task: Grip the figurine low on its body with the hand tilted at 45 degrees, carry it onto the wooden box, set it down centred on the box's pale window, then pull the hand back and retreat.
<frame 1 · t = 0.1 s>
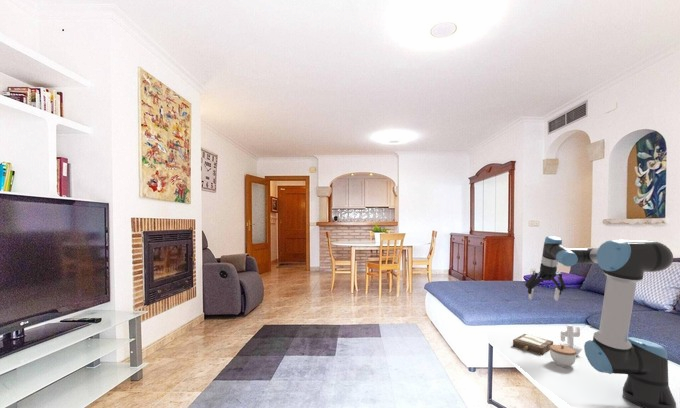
hand: (542, 299, 176), 28 cm above the table, tool tilted 20°, fingers open, 13 cm apart
lidded jar: (563, 365, 157), on the table
wooden box: (533, 347, 180), on the table
figurine: (570, 353, 172), on the table
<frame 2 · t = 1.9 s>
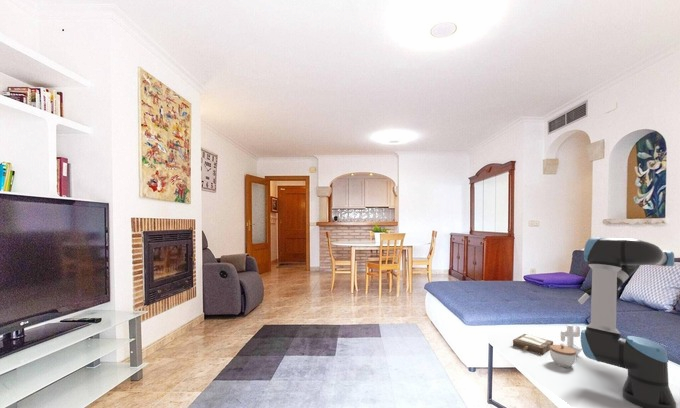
hand: (589, 305, 173), 25 cm above the table, tool tilted 45°, fingers open, 13 cm apart
nothing on the table moved.
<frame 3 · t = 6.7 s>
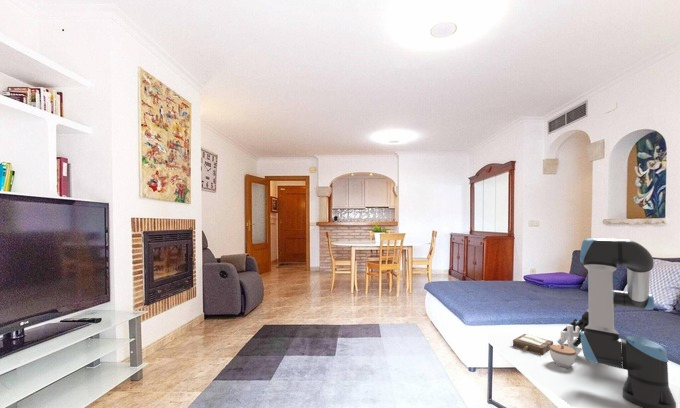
hand: (564, 346, 172), 4 cm above the table, tool tilted 45°, fingers closed on figurine, 7 cm apart
figurine: (570, 353, 172), on the table, touching gripper
everything else where it was.
when the fingers open (8 cm above the table, at t = 13.3 s): figurine stays where it is, resting on wooden box.
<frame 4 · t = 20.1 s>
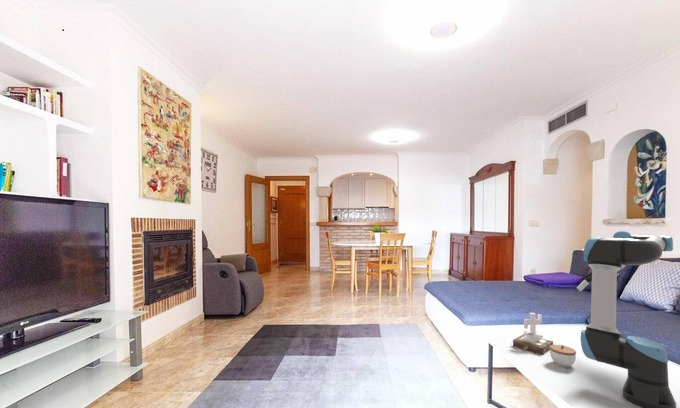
hand: (587, 292, 174), 33 cm above the table, tool tilted 45°, fingers open, 13 cm apart
figurine: (533, 340, 180), point 4 cm above the table, touching wooden box
everything else where it was.
at the end: figurine inside the target area on the wooden box (0.2 cm from its centre), point 3.8 cm above the wooden box's base; figurine tilted 0°; the gripper is holding nothing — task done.
